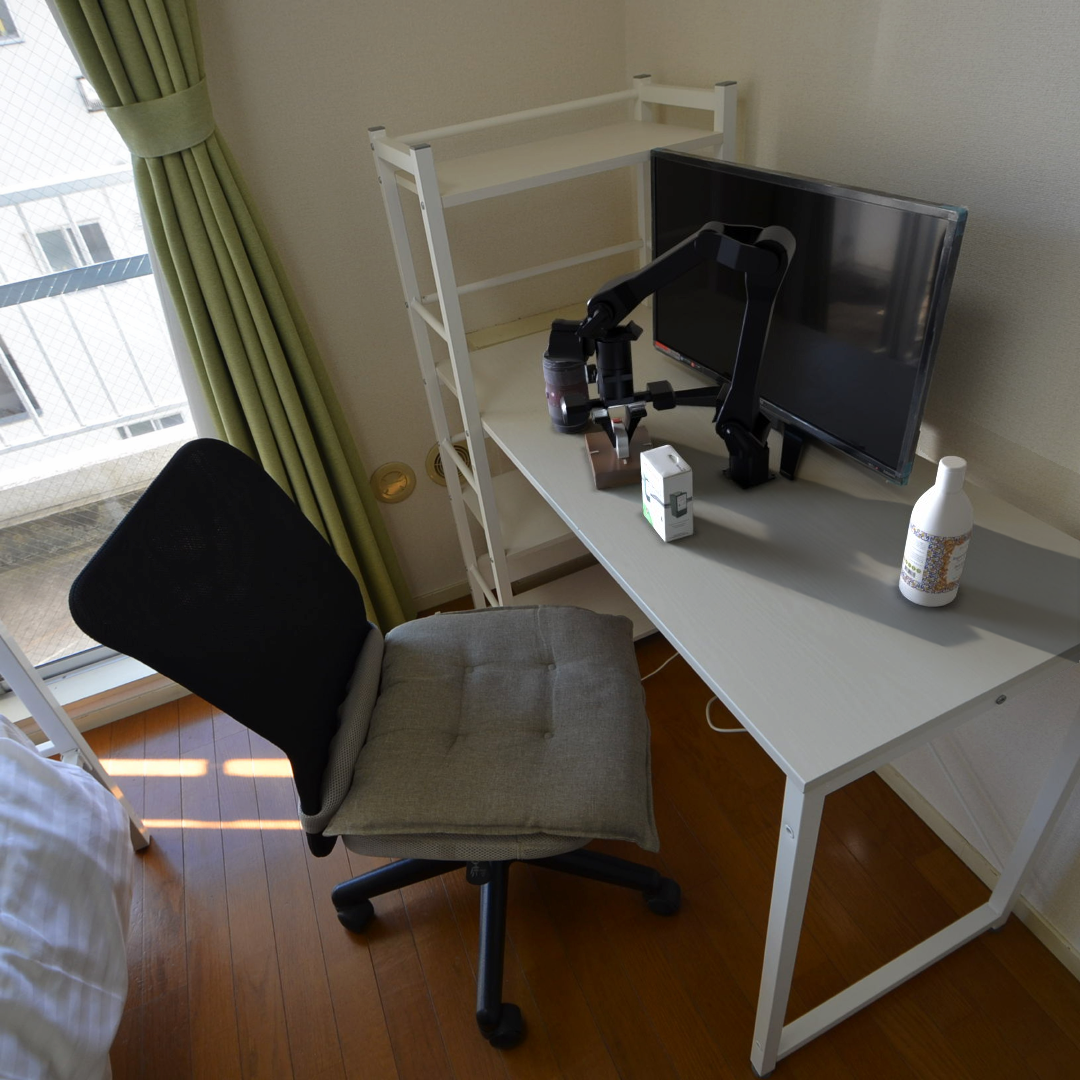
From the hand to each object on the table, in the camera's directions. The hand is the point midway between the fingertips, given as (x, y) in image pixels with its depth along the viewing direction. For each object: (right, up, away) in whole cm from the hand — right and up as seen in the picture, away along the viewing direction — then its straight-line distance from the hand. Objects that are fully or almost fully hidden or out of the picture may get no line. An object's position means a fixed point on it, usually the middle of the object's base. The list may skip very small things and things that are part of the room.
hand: (620, 446), depth 139 cm
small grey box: (0, 0, 0) cm, 0 cm away
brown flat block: (0, -3, +2) cm, 4 cm away
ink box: (+6, -14, -14) cm, 21 cm away
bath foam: (+37, -23, -33) cm, 55 cm away
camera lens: (-8, +6, +16) cm, 18 cm away
